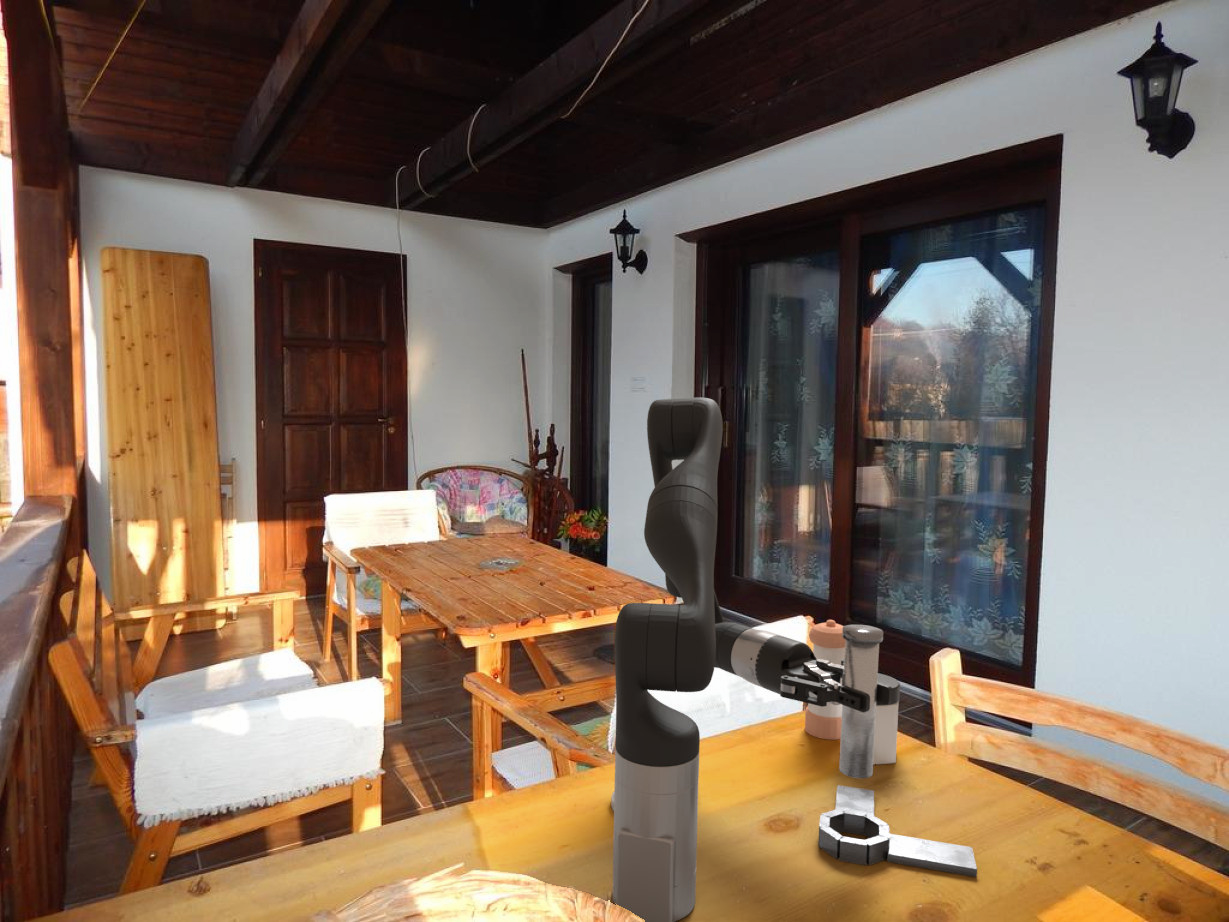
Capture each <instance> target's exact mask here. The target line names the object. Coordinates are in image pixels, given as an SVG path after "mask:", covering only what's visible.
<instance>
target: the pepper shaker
mask: <svg viewBox="0 0 1229 922" xmlns="http://www.w3.org/2000/svg"><path fill="white" fill-rule="evenodd" d="M844 626H845V625H842V624H839V623H836V621H835V620H833V619H827V620H826V622H821V623H817V624H814V625H813V626H812V627H811V628H810V630H809V632H808V633H809V634H808V638H809V639H810V642H811V643H812V644H813V648H812V652H813V654H814V656H815V657H816V659H824V660H828V661H830V662H831V663H833V664H838V665H841V659H845V639H844V638H843V637H842V630H843V627H844ZM840 684H841V686H842V678H841V680H840ZM811 697H812V696H811ZM807 704H808V705H807V706H806V708H805V713H804V714H805V716H804V719H805V720H804V730H805V732H806V733H807V734H808V735H810V736H813V737H815V738H819V739H823V740H832V741H833V740H841V722H842V704H840V705H833V704H831V703H829V702H827V706H823V707H821V706H818V705H813V704H809V703H807Z"/></svg>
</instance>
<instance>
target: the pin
mask: <svg viewBox="0 0 1229 922" xmlns="http://www.w3.org/2000/svg"><path fill="white" fill-rule="evenodd" d="M843 626H844V627H843V630H842V637H843V638H844V639H845V659H844V680H843V686H848V687H850V688H853V689H856V690H859V691H862V692H864V693H867V694H869V696H870V709H869V711H867V712H864V713H863V712H860V711H858V710H855V709H852V708H850V707H847V706H844V705H842V722H841V739H840V743H839V744H840V747H839V749H840V750H839V765H838V766H839V772H840V773H842V774H843V775H845V776H847V777H850V778H854V779H869V778H871V777H872V776H873V774H874V773H873V772H874V771H873V770H874V765H873V756H874V736H875V717H876V697H877V677H878V672H879V654H880V643H882V642H883V640H884V631H883V629H881V628H878V627H875V626H872V625H865V624H847V625H843Z"/></svg>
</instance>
